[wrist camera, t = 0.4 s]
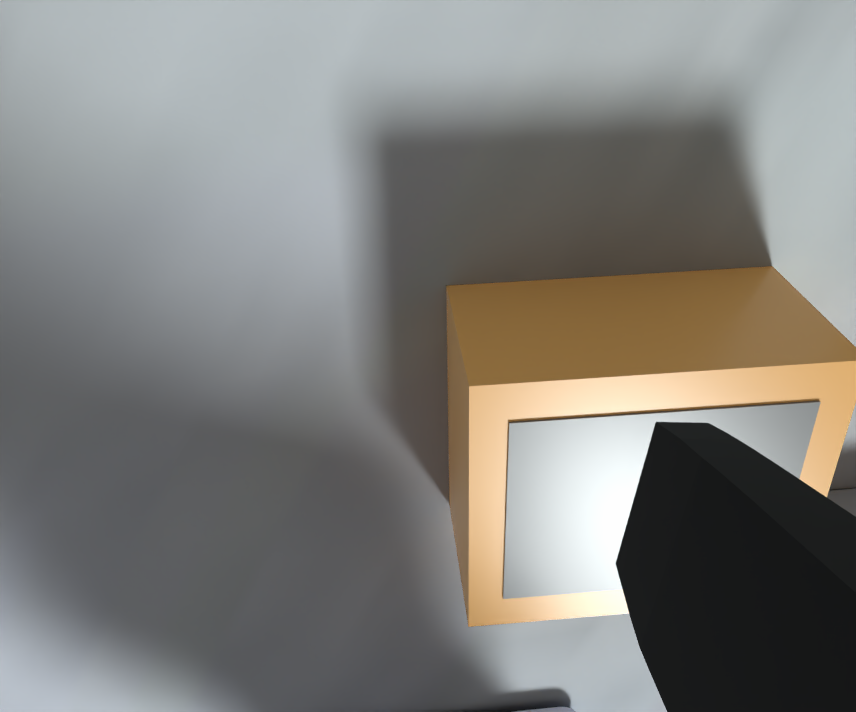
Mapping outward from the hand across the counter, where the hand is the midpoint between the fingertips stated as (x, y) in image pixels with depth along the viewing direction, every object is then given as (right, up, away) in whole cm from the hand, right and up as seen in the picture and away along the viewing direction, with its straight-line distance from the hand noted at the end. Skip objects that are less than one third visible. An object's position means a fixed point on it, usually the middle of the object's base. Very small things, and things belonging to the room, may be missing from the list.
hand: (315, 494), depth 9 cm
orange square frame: (+5, +1, +10) cm, 12 cm away
